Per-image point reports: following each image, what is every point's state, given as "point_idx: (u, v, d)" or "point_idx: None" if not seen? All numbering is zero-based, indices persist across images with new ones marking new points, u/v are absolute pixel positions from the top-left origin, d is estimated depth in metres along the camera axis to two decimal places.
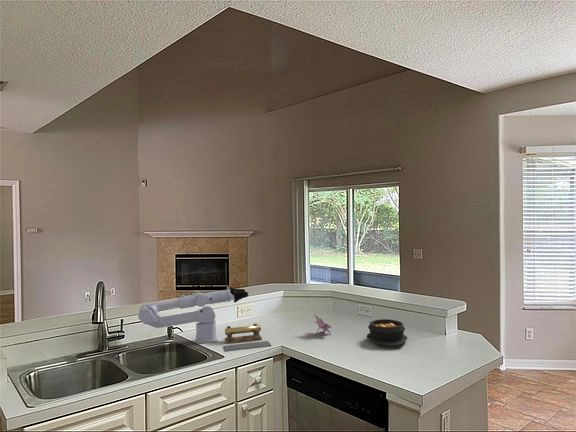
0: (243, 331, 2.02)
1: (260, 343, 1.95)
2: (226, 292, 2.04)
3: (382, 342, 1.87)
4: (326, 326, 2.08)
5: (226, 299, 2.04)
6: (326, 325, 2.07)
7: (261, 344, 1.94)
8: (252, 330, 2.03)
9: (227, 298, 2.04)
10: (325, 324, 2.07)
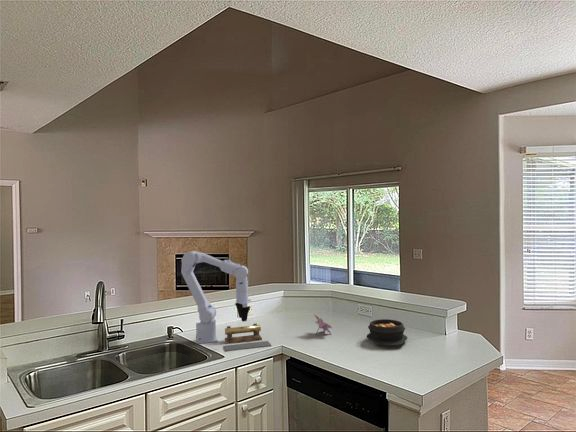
0: (243, 330, 2.02)
1: (260, 343, 1.95)
2: (246, 299, 2.01)
3: (382, 342, 1.87)
4: (326, 326, 2.08)
5: (240, 298, 2.00)
6: (326, 325, 2.07)
7: (261, 344, 1.94)
8: (252, 329, 2.03)
9: (241, 299, 2.00)
10: (325, 324, 2.07)
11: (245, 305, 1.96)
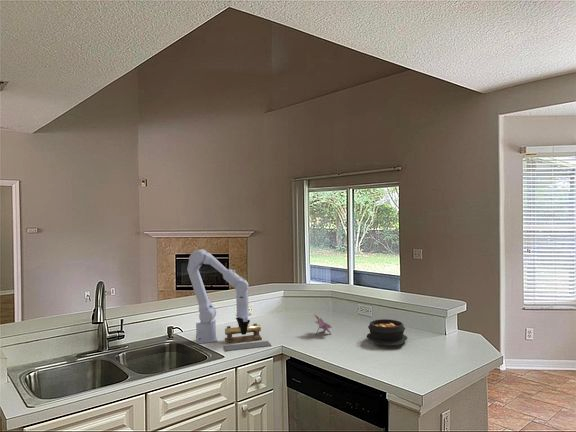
0: None
1: (260, 343, 1.95)
2: (247, 313, 2.01)
3: (382, 342, 1.87)
4: (326, 326, 2.08)
5: (240, 313, 2.00)
6: (326, 325, 2.08)
7: (261, 344, 1.94)
8: (252, 330, 2.03)
9: (241, 314, 2.00)
10: (325, 324, 2.07)
11: (245, 320, 1.96)
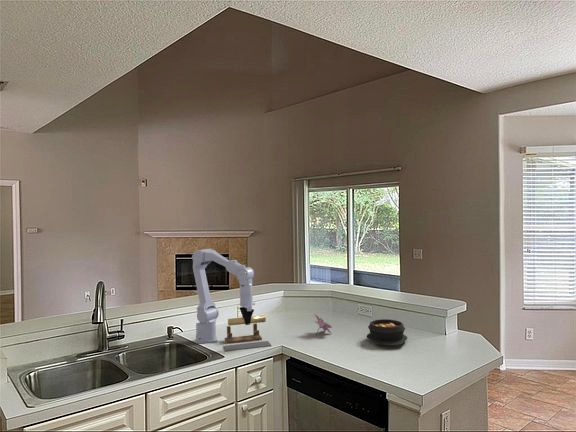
0: None
1: (260, 343, 1.95)
2: (251, 302, 1.91)
3: (382, 342, 1.87)
4: (326, 326, 2.08)
5: (244, 302, 1.90)
6: (327, 325, 2.08)
7: (261, 344, 1.94)
8: (256, 321, 1.93)
9: (245, 303, 1.90)
10: (325, 324, 2.08)
11: (249, 309, 1.86)
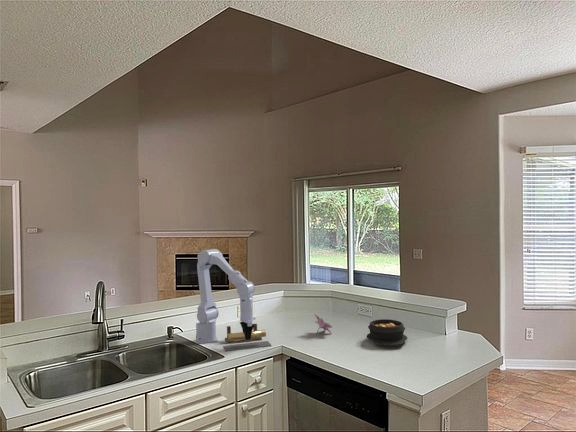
0: None
1: (260, 343, 1.95)
2: (251, 317, 1.91)
3: (382, 342, 1.87)
4: (327, 326, 2.08)
5: (244, 317, 1.90)
6: (327, 325, 2.08)
7: (261, 344, 1.94)
8: (257, 335, 1.93)
9: (245, 318, 1.90)
10: (326, 324, 2.08)
11: (250, 324, 1.86)
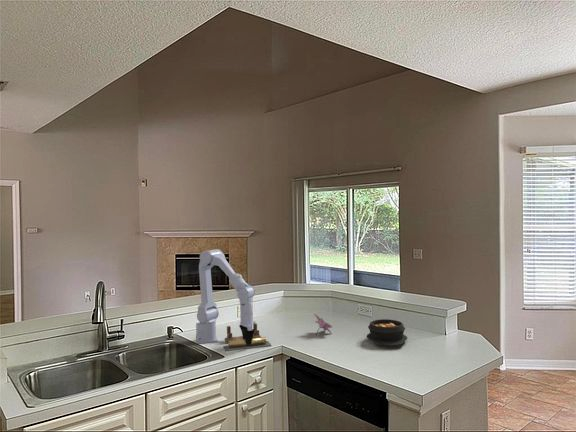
0: None
1: None
2: (251, 321, 1.91)
3: (382, 342, 1.87)
4: (327, 326, 2.08)
5: (244, 321, 1.90)
6: (327, 325, 2.08)
7: (261, 344, 1.94)
8: (257, 343, 1.93)
9: (246, 322, 1.90)
10: (326, 324, 2.08)
11: (250, 328, 1.86)
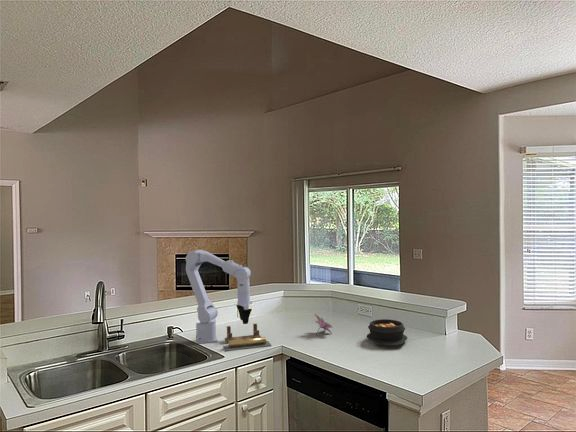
0: (247, 343, 1.92)
1: None
2: (248, 301, 1.97)
3: (382, 342, 1.87)
4: (327, 325, 2.09)
5: (241, 301, 1.96)
6: (327, 325, 2.08)
7: (261, 344, 1.94)
8: (257, 342, 1.93)
9: (242, 302, 1.96)
10: (326, 323, 2.08)
11: (246, 307, 1.92)
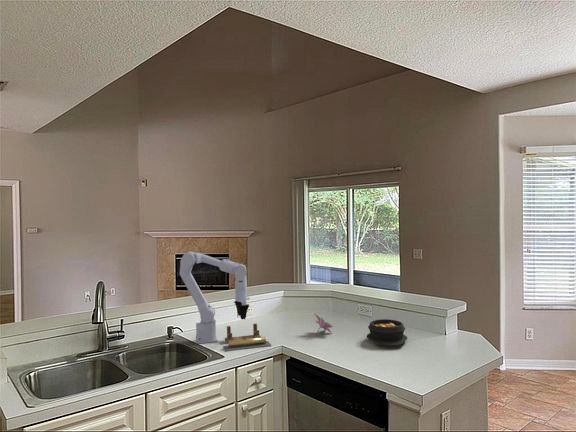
0: (247, 343, 1.92)
1: None
2: (245, 297, 2.04)
3: (382, 342, 1.87)
4: (327, 325, 2.09)
5: (239, 297, 2.03)
6: (327, 325, 2.08)
7: (261, 344, 1.94)
8: (257, 342, 1.93)
9: (240, 298, 2.02)
10: (326, 323, 2.08)
11: (244, 303, 1.98)
